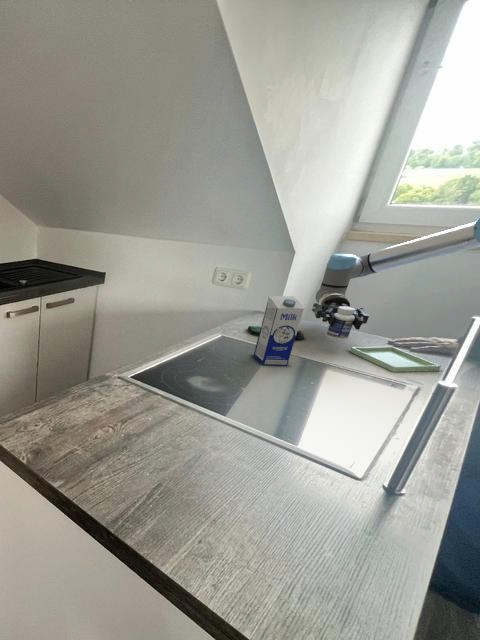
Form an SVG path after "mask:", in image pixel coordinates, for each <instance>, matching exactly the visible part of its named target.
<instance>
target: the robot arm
mask: <svg viewBox="0 0 480 640" xmlns="http://www.w3.org/2000/svg"><path fill="white" fill-rule="evenodd" d="M477 248H480V216H479V217H478V218H477V219H476V220H475V221H474V222H471V223H467V224H464V225H461V226H458V227H454V228H451V229H447V230H444V231H441V232H437V233H434V234H430V235H428V236H427V235H426V236H423V237H421V238H416V239H414V240H413V239H412V240H410V241H406V242H403V243H400V244H396V245H392V246H389V247H386V248H382V249H379V250H376V251H372V252H369V253H366V254H362V255H359V256H356V255H355V254H350V253H334V254H331V256H330V257H329V259H328V262H327V264H326V268H325V271H324V275H323V277H322V280H321V284H320V286H319V289H318V290H317V291H316V294H315V301H316V302H315V303H313V305H312V308H311V311H312V312H313V313H314V317H315V318H316V319H321V318H322V321H321V322H323V323H327V322H328V324H329V325H330V326H332V327H334V324H335V321H336V317H335V315H334V314H335V313H338V308H339V307H340V306H346V307H351V308H354V307H353V306H351V303H350V301H349V299H348V298H347V296H346V292H347V289H348V287H349V283H350V281H351V280H353V279H356V278H362V277H363V278H364V277H367V276H369V275H373V274H377V273H381V272H385V271H388V270H391V269H392V270H393V269H397V268H400V267H405V266H408V265H409V266H410V265H412V264H417V263H420V262H425V261H429V260H432V259H437V258H440V257H445V256H449V255H453V254H456V253H461V252H464V251H468V250H472V249H477ZM352 315H353V316H354V317H355V320H354V323H353V325H352V327H354V328H355V330H357V331H358V330H359V331H360V329H361V327H362V325H366V324H367V323H368V321H369V318H370V315H369V314H368V313H367V312H366V311H365V308H364V307H359V308H356V309H355V312H354V314H352Z"/></svg>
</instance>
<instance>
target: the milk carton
mask: <svg viewBox="0 0 480 640" xmlns="http://www.w3.org/2000/svg"><path fill="white" fill-rule="evenodd" d="M304 310H305V307H304V305H303V304H302V303H301V302H300V301H299V300H298V298H296V297H295V296H293V295H290V296H285V295H269V296H268V299H267V302H266V306H265V310H264V314H263V317H262V321H261V325H260V327H261V329H260V333H259V336H258V335H257V336H258V337H257V340H256V345H255V349H254V351H253V358H255V360H257V361H258V362H259V363H260V364H261V365H262V366H288V363H289V360H290V357H291V354H292V351H293V348H294V344H295V341H296V340H295V337H296V334H297V331H299V327H300V324H301V321H302V318H303V314H304Z"/></svg>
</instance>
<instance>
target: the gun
mask: <svg viewBox="0 0 480 640" xmlns="http://www.w3.org/2000/svg"><path fill="white" fill-rule="evenodd" d="M260 329H261V326H254V325H249V326H247V331H248V332H249V333H250V334H251V335H253V336H259V333H260ZM304 335H305V334H304V333H303V332H302V331H301V330H298V331H297V334H296V337H295V341H299V340H300V341H301V340H303V339H304V338H305V336H304Z"/></svg>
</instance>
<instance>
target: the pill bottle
mask: <svg viewBox="0 0 480 640" xmlns="http://www.w3.org/2000/svg"><path fill="white" fill-rule="evenodd" d="M351 307H352V306H351ZM351 307H346V306H340V307H339V308H338V313H335V314H334V315H335V317H336V321H335V324H334V327H332V326H330V324H329V325H328V328H327V331H326V337H327V338H330V339H333V340H340V341H345V340H348V338H349V336H350V333H351V330H352V328H353V323H354V320H355V317H354V316H353V315H352V314H354V312H355V310H356V308H354V307H353V308H351Z"/></svg>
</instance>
